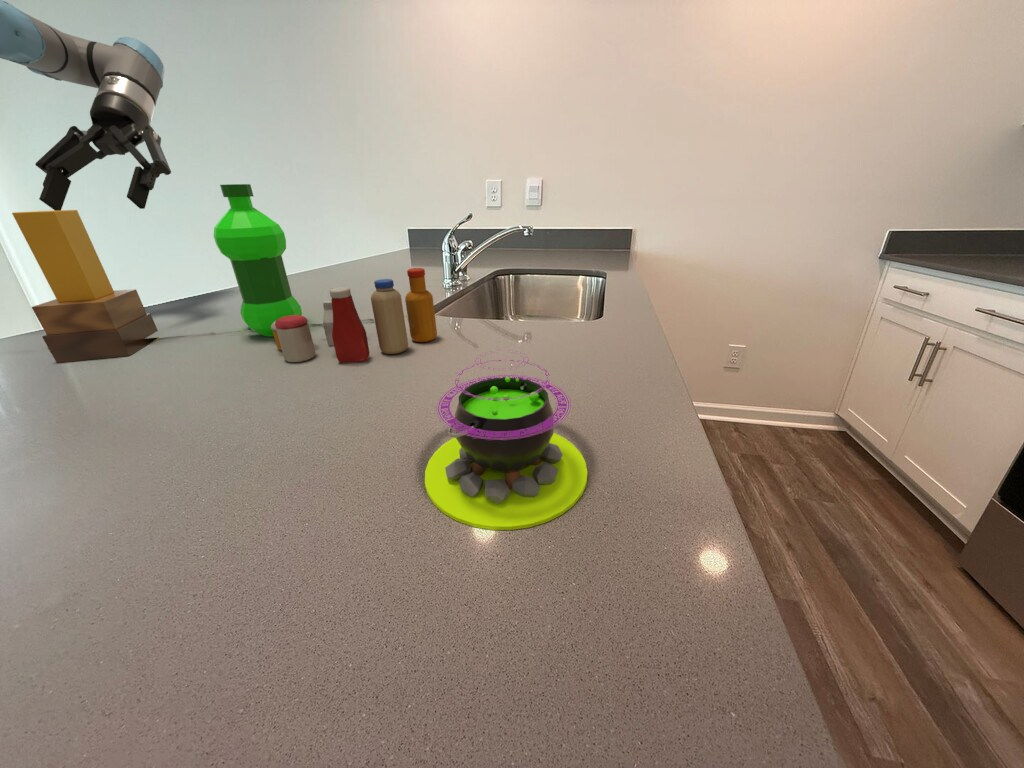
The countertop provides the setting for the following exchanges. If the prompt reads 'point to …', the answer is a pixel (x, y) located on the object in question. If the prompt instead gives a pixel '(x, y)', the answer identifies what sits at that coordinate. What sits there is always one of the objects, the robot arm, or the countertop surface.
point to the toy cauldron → (505, 455)
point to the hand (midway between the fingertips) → (93, 204)
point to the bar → (65, 254)
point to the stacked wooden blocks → (96, 327)
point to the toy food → (348, 328)
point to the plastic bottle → (255, 260)
